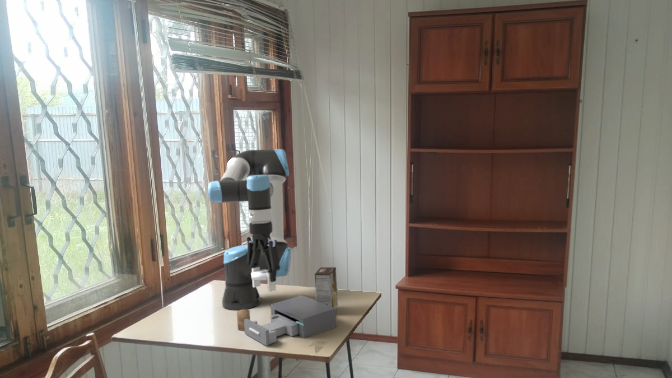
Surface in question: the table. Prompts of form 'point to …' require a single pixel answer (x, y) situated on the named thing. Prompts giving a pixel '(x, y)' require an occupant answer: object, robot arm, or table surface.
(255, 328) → the grey drawer
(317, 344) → the table surface
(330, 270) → the coffee box
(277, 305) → the housing
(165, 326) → the table surface
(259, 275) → the lid
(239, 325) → the brown rounded peg
